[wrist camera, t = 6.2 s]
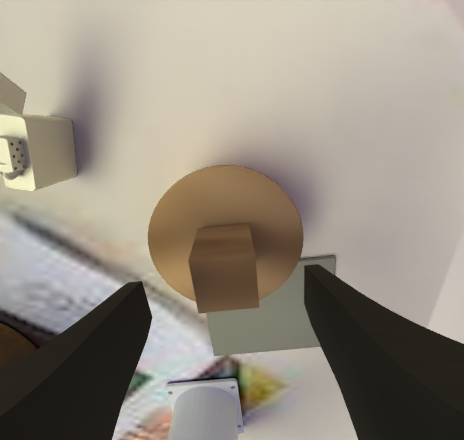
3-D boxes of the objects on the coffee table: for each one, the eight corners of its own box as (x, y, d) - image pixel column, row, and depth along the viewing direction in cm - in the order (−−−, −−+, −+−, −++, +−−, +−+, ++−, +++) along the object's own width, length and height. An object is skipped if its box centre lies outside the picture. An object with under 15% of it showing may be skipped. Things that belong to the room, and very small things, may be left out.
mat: (328, 342, 25) (329, 345, 25) (214, 352, 25) (214, 356, 25) (333, 255, 21) (335, 258, 21) (199, 268, 22) (198, 271, 21)
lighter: (77, 177, 18) (-25, 211, 11) (53, 173, 18) (-66, 207, 11) (67, 71, 16) (-74, 22, 8) (40, 66, 16) (-128, 13, 8)
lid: (299, 292, 17) (324, 350, 13) (168, 305, 18) (148, 366, 13) (299, 156, 14) (333, 171, 9) (135, 174, 14) (91, 197, 10)
